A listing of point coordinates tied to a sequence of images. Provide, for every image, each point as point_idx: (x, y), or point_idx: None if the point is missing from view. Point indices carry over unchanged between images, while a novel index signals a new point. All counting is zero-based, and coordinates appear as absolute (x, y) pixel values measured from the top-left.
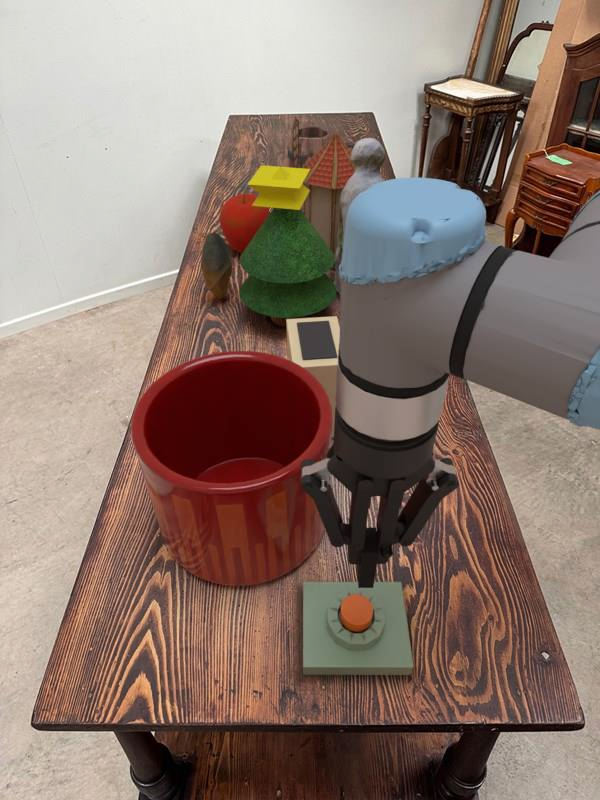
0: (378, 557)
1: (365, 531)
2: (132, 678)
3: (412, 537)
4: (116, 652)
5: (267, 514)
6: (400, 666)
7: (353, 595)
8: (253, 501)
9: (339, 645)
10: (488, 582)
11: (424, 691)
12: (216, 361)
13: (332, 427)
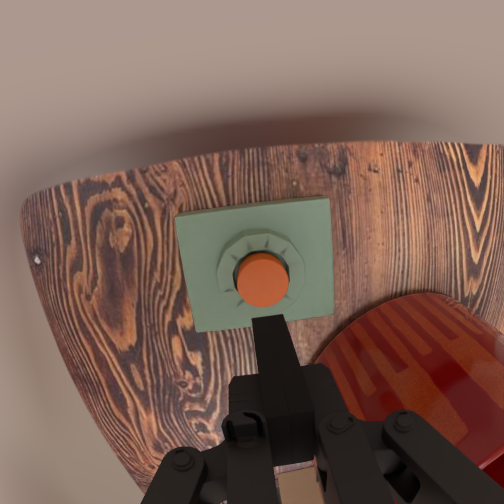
0: (255, 393)
1: (341, 500)
2: (483, 181)
3: (163, 485)
4: (496, 205)
5: (448, 405)
6: (192, 215)
7: (269, 304)
8: (489, 421)
9: (280, 233)
10: (94, 338)
11: (161, 195)
12: None
13: (293, 483)
